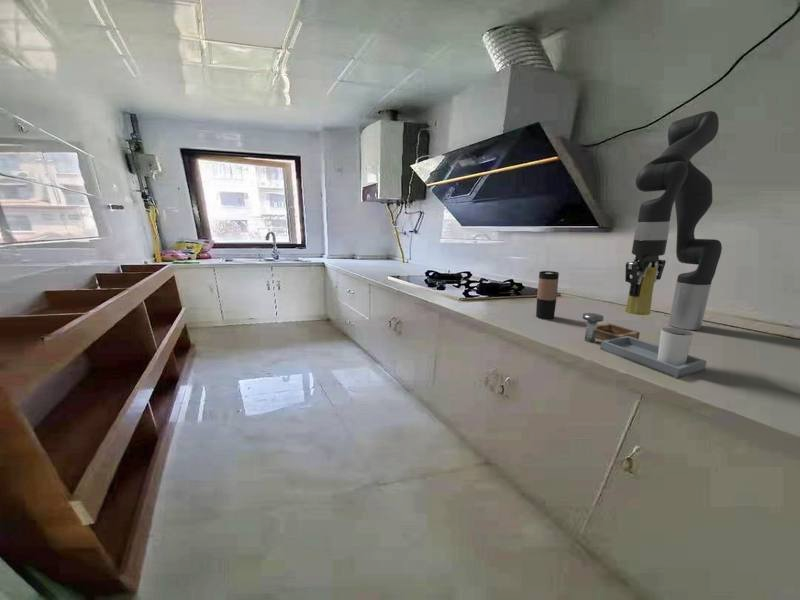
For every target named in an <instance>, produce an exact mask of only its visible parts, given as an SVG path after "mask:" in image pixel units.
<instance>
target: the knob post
mask: <svg viewBox="0 0 800 600" xmlns="http://www.w3.org/2000/svg"><path fill="white" fill-rule="evenodd" d="M582 319H583V320H585V321H586V327H585V335H584V342H585V341H586V342H588V343H595V342H596V338H595V337H596V330H597V325H598V322H603V321H604V315H602V314H599V313H594V312H593V313H591V312H585V313H582Z"/></svg>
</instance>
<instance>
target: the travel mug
mask: <svg viewBox="0 0 800 600" xmlns="http://www.w3.org/2000/svg"><path fill="white" fill-rule="evenodd" d="M559 275H560V272H559V271H554V270H553V271H552V270H543V271H542V270H541V271H539V275H538V281H537V282H538V283H537V293H536V294H537V295H536V306H535V308H536V310H535V317H536V318H537V317H538V319H539V320H545V319H547V320H548V321H549V320H550V321H551V320H553V319H555V318H554V317H555V315H556V314H555V312H556V306H557V305H556V304H557V297H558V288H559Z"/></svg>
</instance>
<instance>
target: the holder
mask: <svg viewBox="0 0 800 600" xmlns="http://www.w3.org/2000/svg"><path fill="white" fill-rule="evenodd" d="M640 333H641V332H639V331H636V330H633V329H630V328H626V327H624V326H620V325H616V324H612V323H609V322H608V323H602V324H597V330H596V337H595V339H596V340H600V341H604V340H609V339H614V338H618V337H623V336H630V337H633V338H636V339H639V340H640Z"/></svg>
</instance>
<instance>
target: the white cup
mask: <svg viewBox="0 0 800 600" xmlns="http://www.w3.org/2000/svg"><path fill="white" fill-rule="evenodd" d="M693 339H694V333H693V332H692V331H691V330H687V329H681V328H676V327H669V326H668V327H662V328H661V329H660V337H659V342H658V343H659V344H658V346H659V351H658V358H657V360H660V361H662V362H665V363H668V364H671V365H674V366H681V365H684V364H685V363H686V360H687V356H688V355H689V353H690V349H691V346H692V342H693Z"/></svg>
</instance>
